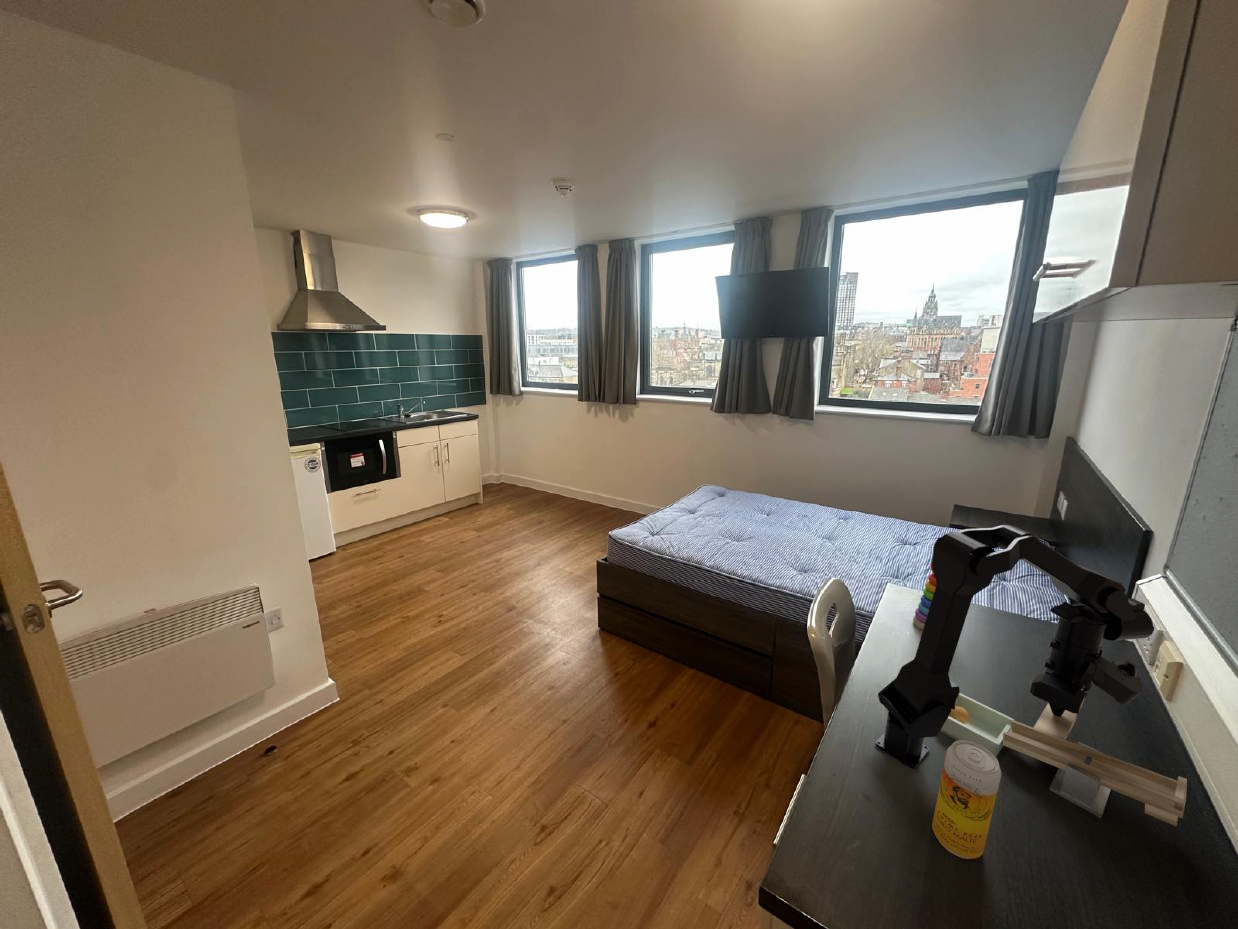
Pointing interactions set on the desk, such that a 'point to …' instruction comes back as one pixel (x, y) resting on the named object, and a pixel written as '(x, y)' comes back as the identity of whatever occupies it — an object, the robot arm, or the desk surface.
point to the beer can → (966, 799)
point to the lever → (1098, 764)
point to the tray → (978, 725)
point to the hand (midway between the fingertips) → (1056, 715)
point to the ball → (960, 714)
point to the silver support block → (1081, 788)
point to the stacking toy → (925, 601)
